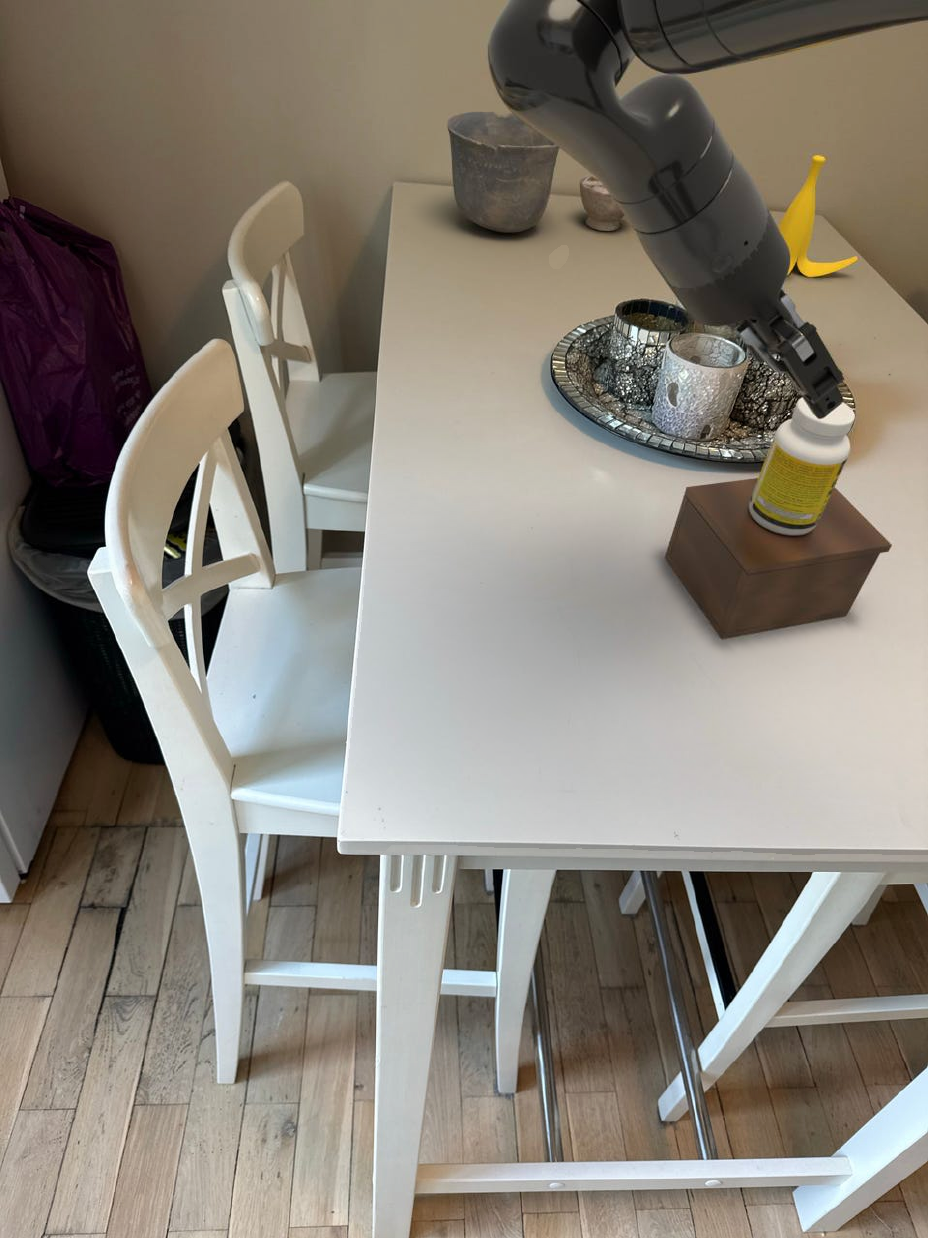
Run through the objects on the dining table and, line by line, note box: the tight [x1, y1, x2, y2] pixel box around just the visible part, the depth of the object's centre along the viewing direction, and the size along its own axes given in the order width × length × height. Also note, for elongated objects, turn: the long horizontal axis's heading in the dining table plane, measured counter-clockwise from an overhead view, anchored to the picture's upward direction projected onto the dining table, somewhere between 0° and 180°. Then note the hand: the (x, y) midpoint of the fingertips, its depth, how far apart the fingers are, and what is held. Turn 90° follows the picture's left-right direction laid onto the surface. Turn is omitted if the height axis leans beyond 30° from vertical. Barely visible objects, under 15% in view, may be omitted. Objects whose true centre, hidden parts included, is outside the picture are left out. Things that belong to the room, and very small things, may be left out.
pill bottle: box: [749, 396, 856, 535], centre depth 76 cm, size 6×6×11 cm
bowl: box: [446, 111, 560, 234], centre depth 141 cm, size 18×18×15 cm
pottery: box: [579, 172, 626, 232], centre depth 146 cm, size 11×25×12 cm, turn 83°
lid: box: [684, 477, 893, 574], centre depth 80 cm, size 14×12×1 cm
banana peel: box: [777, 154, 858, 278], centre depth 136 cm, size 17×19×17 cm
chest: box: [664, 494, 881, 640], centre depth 83 cm, size 14×12×8 cm
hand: (798, 379), depth 69 cm, fingers open, 8 cm apart
